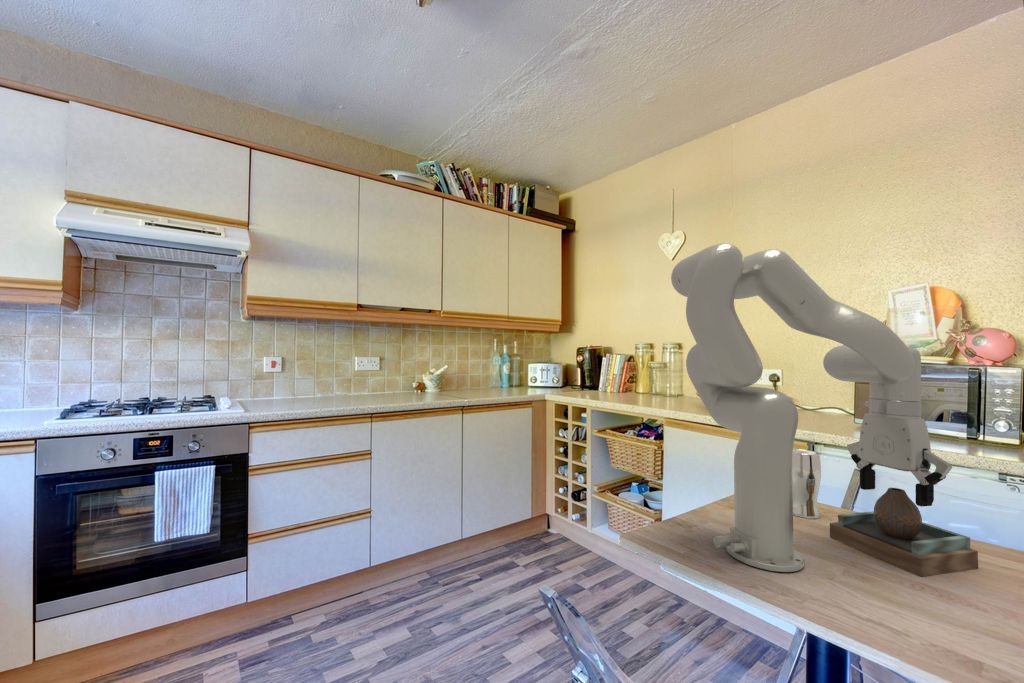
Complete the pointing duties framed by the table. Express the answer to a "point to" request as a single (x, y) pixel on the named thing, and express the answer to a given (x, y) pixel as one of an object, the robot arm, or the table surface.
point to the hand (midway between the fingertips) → (894, 496)
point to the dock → (907, 545)
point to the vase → (897, 514)
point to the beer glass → (806, 483)
